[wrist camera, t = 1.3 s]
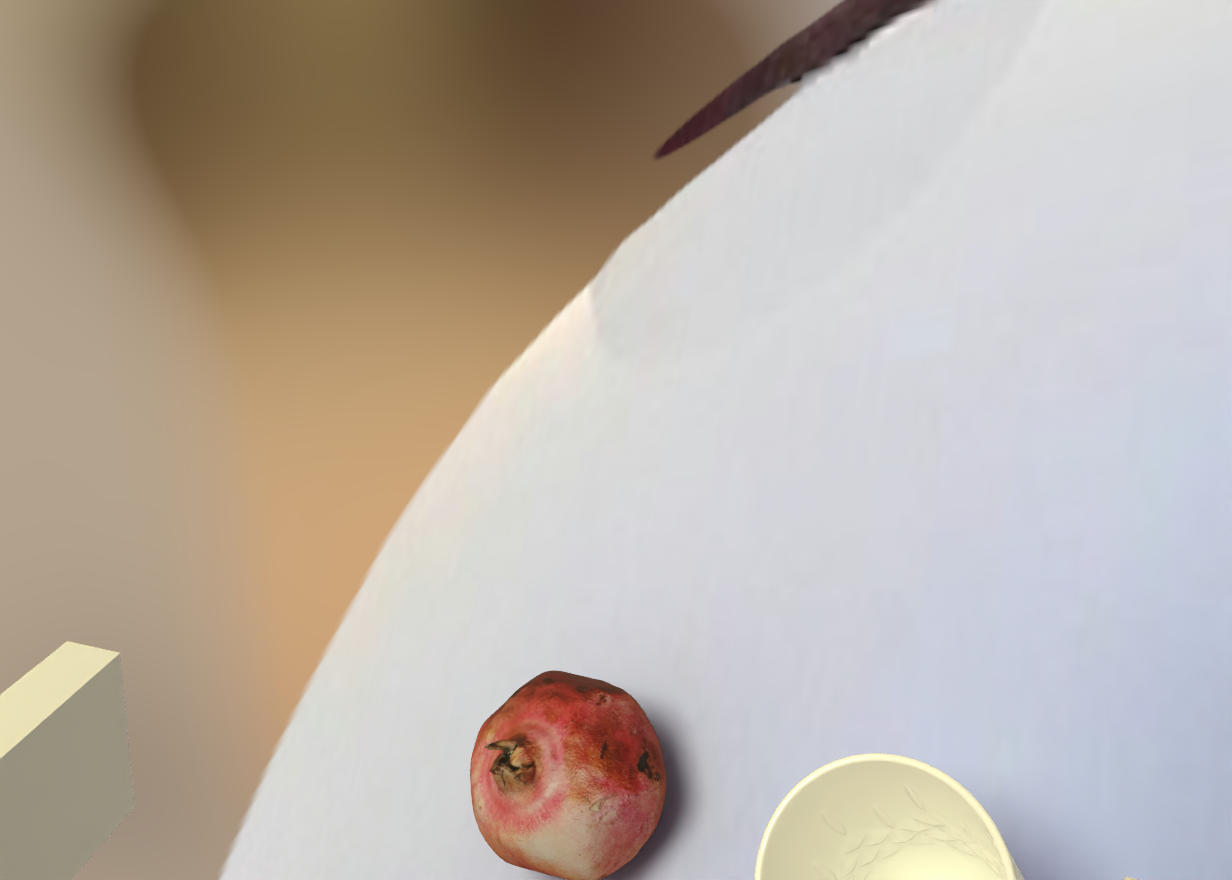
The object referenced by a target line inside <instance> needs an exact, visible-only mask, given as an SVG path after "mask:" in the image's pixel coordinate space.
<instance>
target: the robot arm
mask: <svg viewBox="0 0 1232 880" xmlns="http://www.w3.org/2000/svg"><path fill="white" fill-rule="evenodd" d="M134 807H135V806H134V796H133V785H132V774H131V764H130V753H129V743H128V732H127V721H126V711H125V701H124V690H123V679H122V669H121V658H120V653H117V652H113V651H109V650H104V649H100V648H95V647H91V646H86V645H81V644H77V643H73V642H68V641H67V642H66V643H64V644H63V645H62V646H61V647H60V648H58V649H57V650H56V651H54V653H52V654H51V655H49V656H48V657H47V658H46V659H44V660H43V661H42V662H41V663H39V664H38V665H37V666H36V667H35V668H33V669H32V670H31V671H29V672H28V673H27V674H26V675H24V676H23V677H22V678H21V679H19V680H18V681H17V682H16V683H15V684H13V685H12V686H11V687H9V688H8V689H7V690H6V691H4V692H3V693H2V694H1V695H0V880H72V879H73V877H74V876H75V875H76V874H77V873H78V872H79V871H80V869H81V868H82V867H83V866H84V865H85V864H86V863H87V861H88V860H89V859H90V858H91V857H92V856H93V854H94V853H95V852H96V851H97V850H98V849H99V848H100V846H101V845H102V844H103V843H104V842H105V841H106V839H107V838H108V837H109V836H110V835H111V834H112V833H113V831H114V830H115V829H116V828H117V827H118V826H119V825H120V823H121V822H122V821H123V820H124V819H125V818H126V817H127V815H128V814H129V813H130V812H131V811H132V810H133V809H134ZM1124 880H1138V879H1134V878H1129V877H1125V878H1124Z"/></svg>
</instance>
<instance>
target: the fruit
mask: <svg viewBox="0 0 1232 880" xmlns="http://www.w3.org/2000/svg"><path fill="white" fill-rule="evenodd" d="M470 780H471V795H472V804H473V811H474V815H475V818H476V821H477V824H478V827H479V830H480V832H481V834H482V835H483V837H484V839H485V840H486V842H487V843H488V845H489V846H490V847H491V848H492V850H493V851H494V852H495V853H496V854H497V855H498V856H499V857H500V858H501V859H503V860H504V861H505V862H507V863H510V864H512V865H515V866H518V867H522V868H525V869H529V870H533V871H537V872H540V873H544V874H548V875H552V876H556V877H559V878H563V879H567V880H599V879H601V878H604V877H606V876H608V875H610V874H612V873H613V872H615V871H617V870H618V869H620V868H621V867H622V866H624V865H625V864H626V863H628V862H629V861H630V860H632V859H633V858H634V857H635V856H636V854H637V853H638V852H639V850H640V849H641V848H642V846H643V845H644V844H645V843H646V841H647V840H648V839H649V837H650V836H651V835H652V834H653V832H654V830H655V828H656V826H657V824H658V822H659V819H660V816H661V813H662V810H663V807H664V802H665V794H666V769H665V764H664V758H663V754H662V750H661V747H660V744H659V741H658V738H657V735H656V733H655V731H654V729H653V727H652V725H651V723H650V722H649V720H648V718H647V716H646V715H645V713H644V711H643V709H642V708H641V707H640V705H639V704H638V703H637V701H636V700H635V699H634V698H633V697H632V696H631V695H630V694H628V693H627V692H625V691H624V690H623V689H621V688H618V687H616V686H613V685H611V684H609V683H607V682H604V681H602V680H597V679H592V678H588V677H584V676H579V675H575V674H571V673H567V672H562V671H547V672H544V673H542V674H540V675H538V676H536V677H535V678H533V679H532V680H530V681H529V682H528V683H526V684H525V685H523V686H522V687H521V688H519V689H518V690H517V691H516V692H515V693H514V694H513V695H512V696H511V697H510V698H509V699H508V700H507V701H506V702H505V703H504V704H503V705H502V706H501V707H500V708H499V709H498V710H497V711H496V712H494V713H493V714H492V715H491V716H490V717H489V718H488V719H487V720H486V721H485V722H484V724H483V725H482V727H481V728H480V731H479V733H478V736H477V739H476V743H475V746H474V750H473V753H472V758H471V769H470Z"/></svg>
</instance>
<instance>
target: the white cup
mask: <svg viewBox="0 0 1232 880" xmlns="http://www.w3.org/2000/svg"><path fill="white" fill-rule="evenodd" d="M754 880H1024V878H1023V876H1022V874H1021V872H1020V870H1019V868H1018V866H1017V864H1016V862H1015V861H1014V859H1013V857H1012V855H1011V853H1010V851H1009V850H1008V848H1007V846H1006V844H1005V842H1004V840H1003V838H1002V836H1001V834H1000V832H999V831H998V829H997V827H996V825H995V824H994V822H993V821H992V819H991V818H990V816H989V815H988V813H987V812H986V811H985V809H984V808H983V807H982V806H981V804H980V803H979V802H978V801H977V800H976V799H975V798H974V797H973V796H972V795H971V794H970V793H969V792H968V791H967V790H966V789H965V788H964V787H963V786H962V785H960V784H959V783H958V782H957V781H955V780H954V779H952V778H951V777H950V776H948V775H947V774H945V773H943V772H942V771H940V770H938V769H936V768H934V767H932V766H930V765H928V764H926V763H923V762H920V761H918V760H915V759H911V758H908V757H904V756H899V755H892V754H881V753H872V754H860V755H854V756H850V757H846V758H842V759H839V760H836V761H834V762H831V763H829V764H827V765H825V766H823V767H821V768H819V769H817V770H815V771H814V772H812V773H811V774H809V775H808V776H807V777H805V778H804V779H803V780H802V781H800V782H799V783H798V784H797V785H796V786H795V787H794V788H793V789H792V790H791V791H790V792H789V793H788V794H787V795H786V796H785V798H784V799H783V800H782V802H781V803H780V804H779V806H778V807H777V809H776V810H775V812H774V814H773V815H772V817H771V819H770V821H769V823H768V825H767V827H766V830H765V832H764V835H763V837H762V840H761V843H760V847H759V851H758V855H757V860H756V867H755V877H754Z"/></svg>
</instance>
